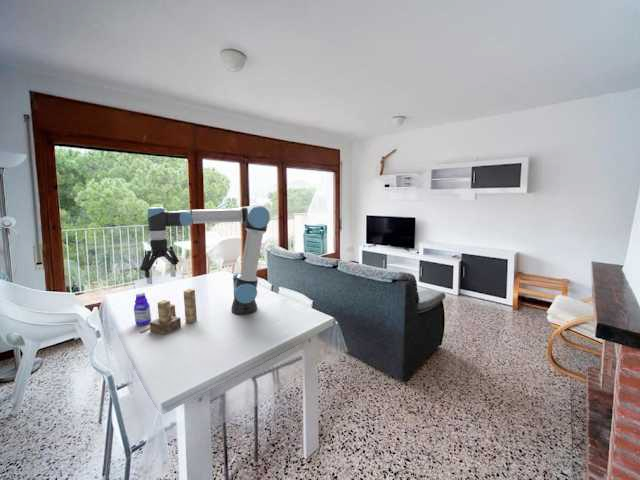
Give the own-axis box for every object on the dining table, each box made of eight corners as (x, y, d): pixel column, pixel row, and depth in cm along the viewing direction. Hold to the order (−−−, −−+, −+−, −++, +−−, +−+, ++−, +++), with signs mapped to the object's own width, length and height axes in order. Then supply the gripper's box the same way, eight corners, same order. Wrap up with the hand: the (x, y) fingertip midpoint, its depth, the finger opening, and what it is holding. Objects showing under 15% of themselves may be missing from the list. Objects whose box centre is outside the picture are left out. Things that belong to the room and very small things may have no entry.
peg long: (191, 319, 161) (189, 288, 158) (196, 320, 159) (194, 289, 157) (185, 322, 157) (183, 291, 154) (191, 323, 156) (189, 292, 153)
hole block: (167, 323, 155) (166, 315, 155) (181, 326, 152) (180, 317, 151) (150, 331, 146) (149, 322, 146) (164, 335, 143) (163, 325, 142)
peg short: (170, 315, 167) (169, 303, 166) (175, 316, 165) (174, 304, 164) (164, 318, 163) (163, 306, 162) (169, 319, 161) (168, 307, 160)
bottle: (134, 326, 152) (130, 295, 150) (137, 322, 158) (134, 291, 155) (149, 324, 154) (146, 294, 151) (152, 320, 159) (149, 290, 157)
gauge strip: (165, 320, 159) (165, 320, 159) (167, 321, 159) (167, 320, 159) (140, 332, 146) (140, 331, 145) (142, 332, 145) (142, 332, 145)
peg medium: (166, 326, 152) (164, 300, 149) (172, 328, 150) (169, 301, 148) (159, 330, 148) (157, 302, 146) (165, 331, 146) (163, 303, 144)
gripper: (173, 235, 155) (176, 273, 158) (128, 241, 132) (133, 286, 135) (184, 236, 152) (187, 274, 155) (139, 242, 129) (144, 288, 132)
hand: (162, 280), depth 145 cm, fingers open, 13 cm apart
